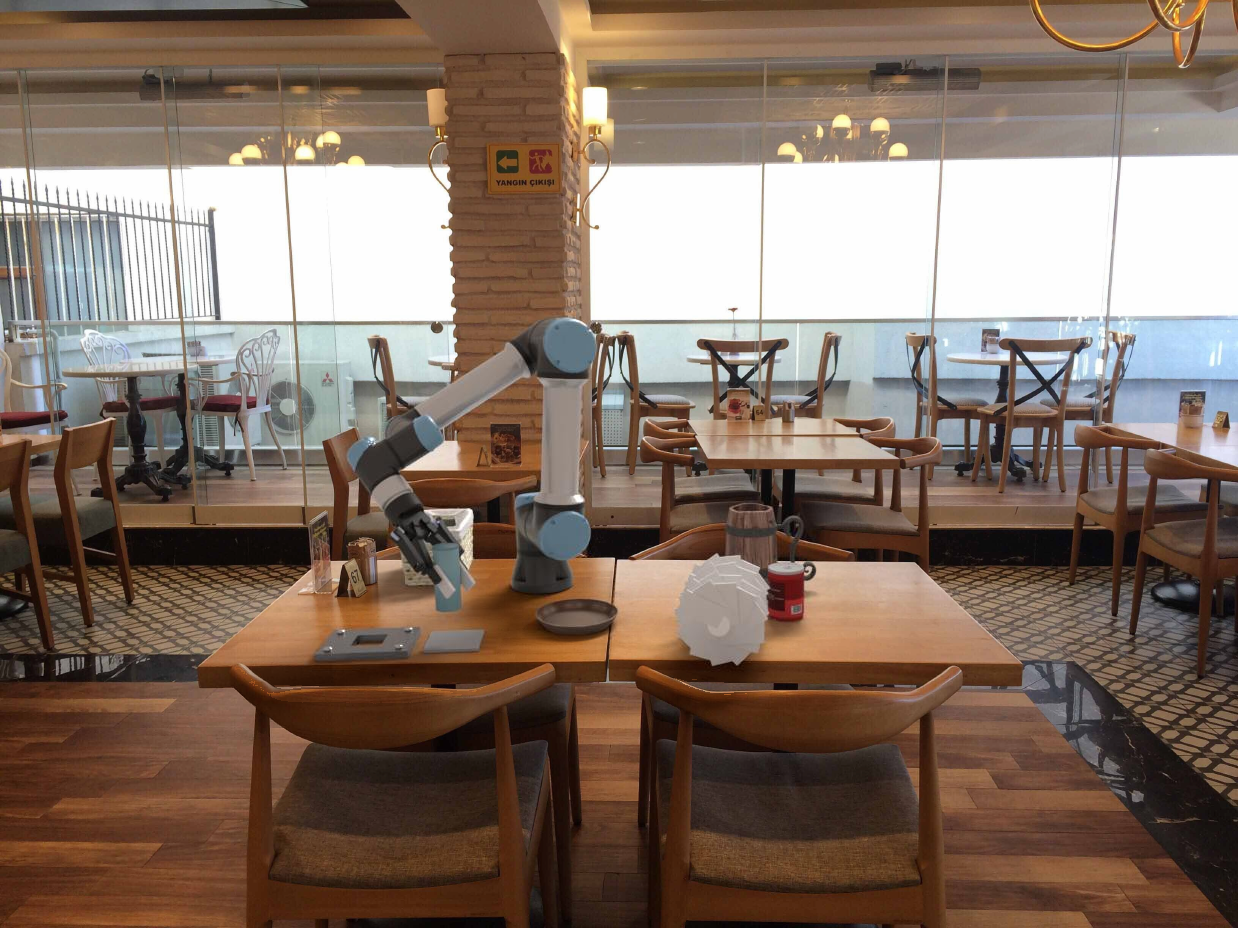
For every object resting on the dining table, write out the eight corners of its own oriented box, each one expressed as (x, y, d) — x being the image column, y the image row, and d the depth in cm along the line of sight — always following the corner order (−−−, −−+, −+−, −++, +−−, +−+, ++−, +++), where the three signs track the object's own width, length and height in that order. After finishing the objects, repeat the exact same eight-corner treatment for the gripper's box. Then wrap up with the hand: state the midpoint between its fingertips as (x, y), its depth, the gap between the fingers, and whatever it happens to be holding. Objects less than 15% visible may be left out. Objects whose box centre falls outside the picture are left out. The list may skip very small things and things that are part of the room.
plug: (463, 603, 194) (460, 542, 191) (459, 611, 188) (456, 548, 186) (437, 604, 193) (434, 543, 191) (433, 612, 188) (430, 549, 186)
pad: (484, 632, 198) (484, 629, 198) (478, 651, 187) (478, 648, 187) (432, 633, 198) (431, 631, 198) (422, 653, 187) (422, 650, 187)
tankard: (717, 601, 214) (716, 516, 211) (713, 580, 231) (712, 500, 227) (821, 600, 213) (822, 514, 209) (810, 578, 229) (810, 498, 226)
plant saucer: (624, 635, 195) (624, 620, 194) (539, 642, 192) (539, 627, 191) (611, 608, 212) (611, 595, 211) (533, 614, 209) (532, 601, 209)
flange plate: (420, 633, 198) (419, 624, 198) (407, 658, 184) (407, 648, 184) (334, 636, 198) (333, 627, 197) (315, 661, 184) (314, 651, 184)
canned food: (806, 611, 205) (806, 562, 204) (801, 623, 198) (801, 573, 196) (771, 608, 208) (771, 560, 206) (764, 620, 200) (764, 570, 199)
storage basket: (464, 586, 231) (460, 528, 229) (398, 588, 231) (394, 530, 228) (477, 560, 255) (474, 507, 252) (417, 562, 255) (414, 509, 252)
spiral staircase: (746, 647, 196) (743, 689, 172) (670, 609, 198) (656, 646, 173) (785, 570, 193) (787, 602, 169) (707, 533, 195) (698, 559, 170)
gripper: (421, 505, 204) (482, 589, 198) (356, 522, 189) (419, 613, 183) (438, 483, 200) (500, 568, 194) (373, 498, 185) (438, 591, 179)
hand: (461, 590), depth 188 cm, fingers closed on plug, 5 cm apart
